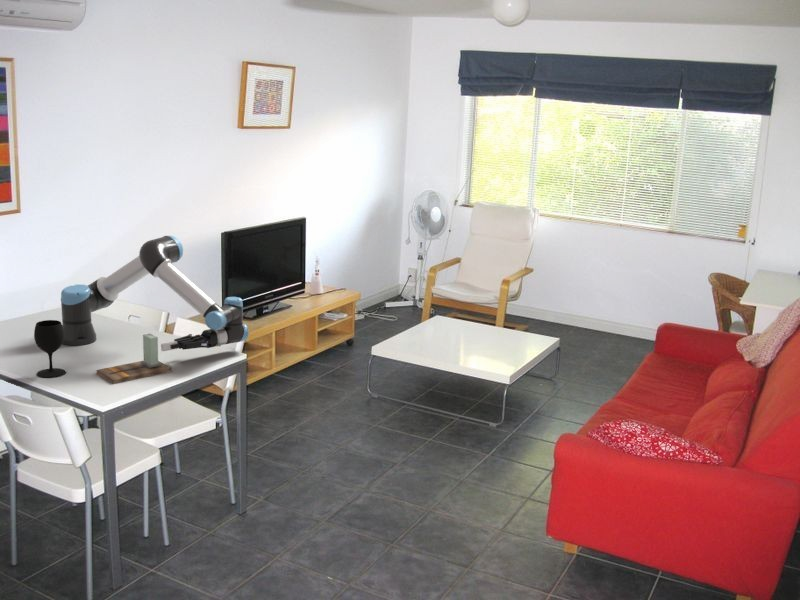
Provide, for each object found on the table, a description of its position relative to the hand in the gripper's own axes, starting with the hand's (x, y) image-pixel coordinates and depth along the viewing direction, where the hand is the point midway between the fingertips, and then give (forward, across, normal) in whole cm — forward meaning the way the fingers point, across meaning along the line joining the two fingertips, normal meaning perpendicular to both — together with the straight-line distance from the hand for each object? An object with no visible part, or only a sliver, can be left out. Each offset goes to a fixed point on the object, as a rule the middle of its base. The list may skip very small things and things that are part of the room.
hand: (162, 347), depth 329 cm
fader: (+5, 0, -6) cm, 8 cm away
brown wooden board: (+12, 0, -8) cm, 14 cm away
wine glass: (+37, +17, -8) cm, 42 cm away
